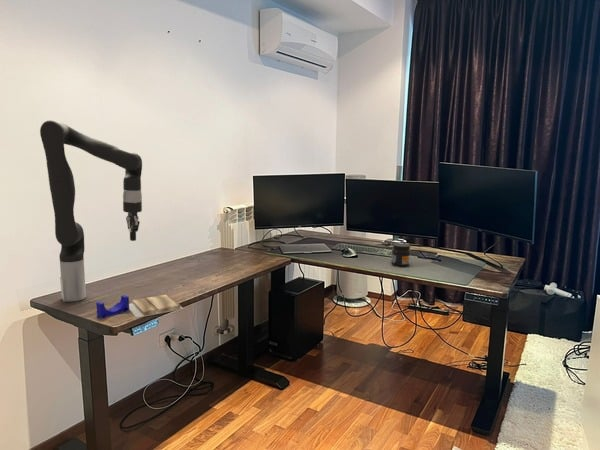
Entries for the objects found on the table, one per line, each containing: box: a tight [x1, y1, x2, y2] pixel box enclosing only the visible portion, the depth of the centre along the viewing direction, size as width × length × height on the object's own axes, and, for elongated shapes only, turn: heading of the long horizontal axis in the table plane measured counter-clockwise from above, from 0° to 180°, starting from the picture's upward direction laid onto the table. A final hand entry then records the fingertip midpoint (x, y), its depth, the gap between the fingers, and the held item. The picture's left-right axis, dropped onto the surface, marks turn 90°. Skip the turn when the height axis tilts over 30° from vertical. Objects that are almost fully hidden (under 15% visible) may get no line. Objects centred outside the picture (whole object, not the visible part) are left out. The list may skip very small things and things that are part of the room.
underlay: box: [129, 302, 184, 319], centre depth 193 cm, size 19×17×1 cm
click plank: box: [145, 294, 181, 313], centre depth 195 cm, size 9×16×2 cm, turn 35°
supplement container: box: [391, 242, 412, 268], centre depth 267 cm, size 10×10×12 cm
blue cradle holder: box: [95, 294, 130, 319], centre depth 186 cm, size 12×4×6 cm, turn 141°
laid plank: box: [131, 297, 157, 315], centre depth 191 cm, size 5×16×2 cm, turn 35°
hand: (132, 240), depth 201 cm, fingers closed
